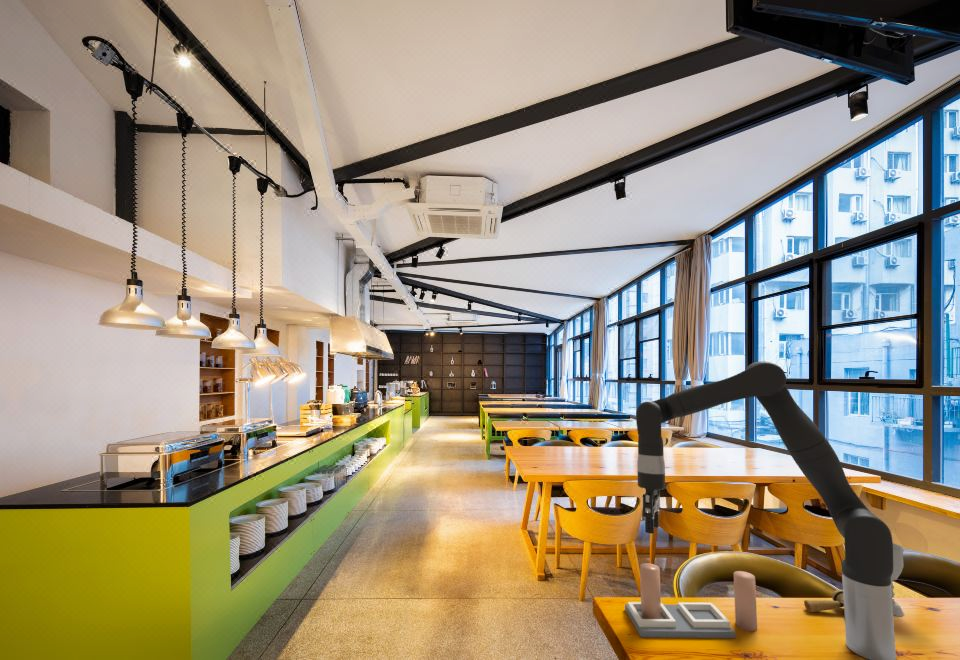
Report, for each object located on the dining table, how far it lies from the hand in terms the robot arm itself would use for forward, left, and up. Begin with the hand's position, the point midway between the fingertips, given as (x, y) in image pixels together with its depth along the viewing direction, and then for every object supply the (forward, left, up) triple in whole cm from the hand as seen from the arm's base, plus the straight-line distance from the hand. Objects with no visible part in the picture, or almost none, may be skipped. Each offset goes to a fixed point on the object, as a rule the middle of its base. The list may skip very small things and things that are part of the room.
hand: (652, 529), depth 129 cm
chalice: (-61, +31, -23) cm, 72 cm away
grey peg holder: (-1, +7, -23) cm, 23 cm away
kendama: (-47, +24, -23) cm, 57 cm away
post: (-17, +16, -23) cm, 32 cm away
